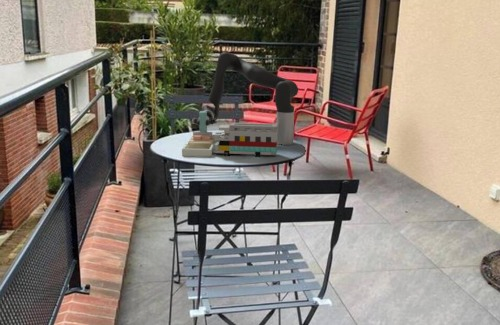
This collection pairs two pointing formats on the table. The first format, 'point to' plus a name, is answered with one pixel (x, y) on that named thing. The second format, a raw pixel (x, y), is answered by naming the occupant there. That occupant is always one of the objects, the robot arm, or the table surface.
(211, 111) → the robot arm
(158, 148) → the table surface
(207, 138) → the tile
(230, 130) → the toy vehicle
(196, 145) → the board
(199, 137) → the tile
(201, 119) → the tall teal pillar block
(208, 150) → the tray
